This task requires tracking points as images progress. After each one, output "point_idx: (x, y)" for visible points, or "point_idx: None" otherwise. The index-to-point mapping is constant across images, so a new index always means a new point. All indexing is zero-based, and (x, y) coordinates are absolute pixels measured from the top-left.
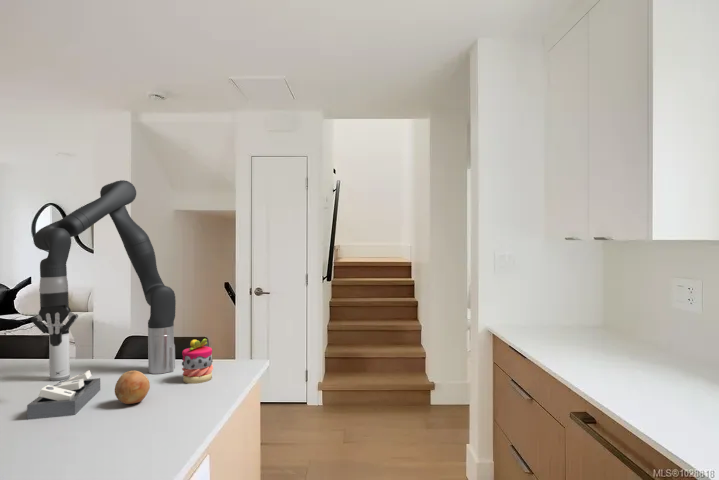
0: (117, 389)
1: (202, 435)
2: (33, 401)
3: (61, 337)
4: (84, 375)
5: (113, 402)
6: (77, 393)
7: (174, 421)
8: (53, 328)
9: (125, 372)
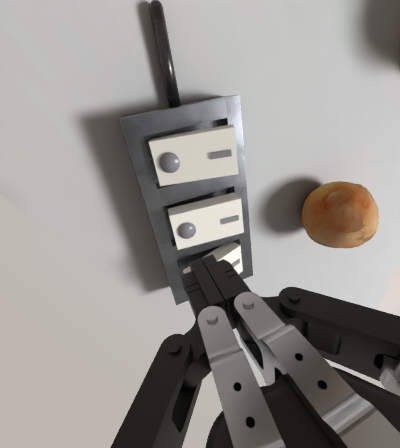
0: (320, 243)
1: (381, 293)
2: (173, 287)
3: (241, 281)
4: (234, 173)
5: (281, 198)
6: (238, 236)
7: (363, 266)
8: (224, 344)
9: (355, 232)
